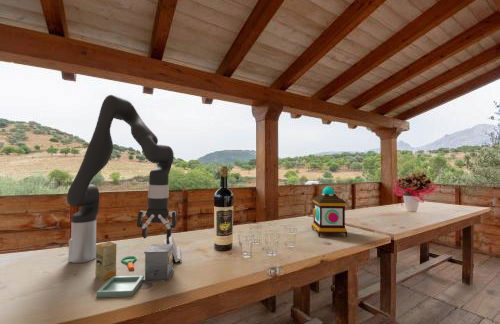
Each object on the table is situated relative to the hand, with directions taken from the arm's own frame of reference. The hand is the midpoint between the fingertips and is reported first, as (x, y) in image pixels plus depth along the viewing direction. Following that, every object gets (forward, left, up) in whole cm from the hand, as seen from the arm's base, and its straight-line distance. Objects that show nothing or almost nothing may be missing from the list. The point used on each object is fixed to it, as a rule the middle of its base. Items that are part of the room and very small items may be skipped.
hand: (156, 238), depth 94 cm
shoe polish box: (-19, 0, -14) cm, 24 cm away
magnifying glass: (-14, +12, -15) cm, 24 cm away
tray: (-9, -10, -14) cm, 19 cm away
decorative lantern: (+91, +51, -14) cm, 106 cm away
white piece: (+2, +18, -15) cm, 23 cm away
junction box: (+1, -1, -14) cm, 14 cm away
